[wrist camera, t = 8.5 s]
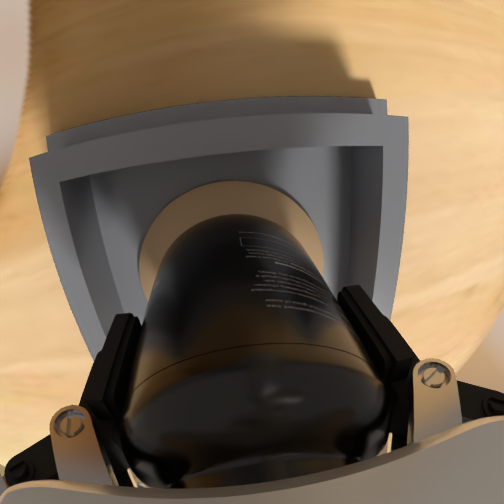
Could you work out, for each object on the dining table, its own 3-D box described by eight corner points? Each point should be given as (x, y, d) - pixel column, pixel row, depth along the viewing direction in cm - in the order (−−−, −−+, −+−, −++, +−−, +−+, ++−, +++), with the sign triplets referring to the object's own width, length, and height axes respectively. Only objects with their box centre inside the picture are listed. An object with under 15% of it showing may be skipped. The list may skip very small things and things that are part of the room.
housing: (55, 134, 12) (11, 143, 9) (376, 100, 13) (423, 99, 10) (128, 381, 19) (118, 427, 15) (360, 352, 20) (382, 392, 16)
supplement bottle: (127, 261, 13) (24, 552, 2) (266, 178, 12) (490, 493, 1) (211, 362, 16) (229, 594, 5) (330, 302, 15) (451, 530, 4)
